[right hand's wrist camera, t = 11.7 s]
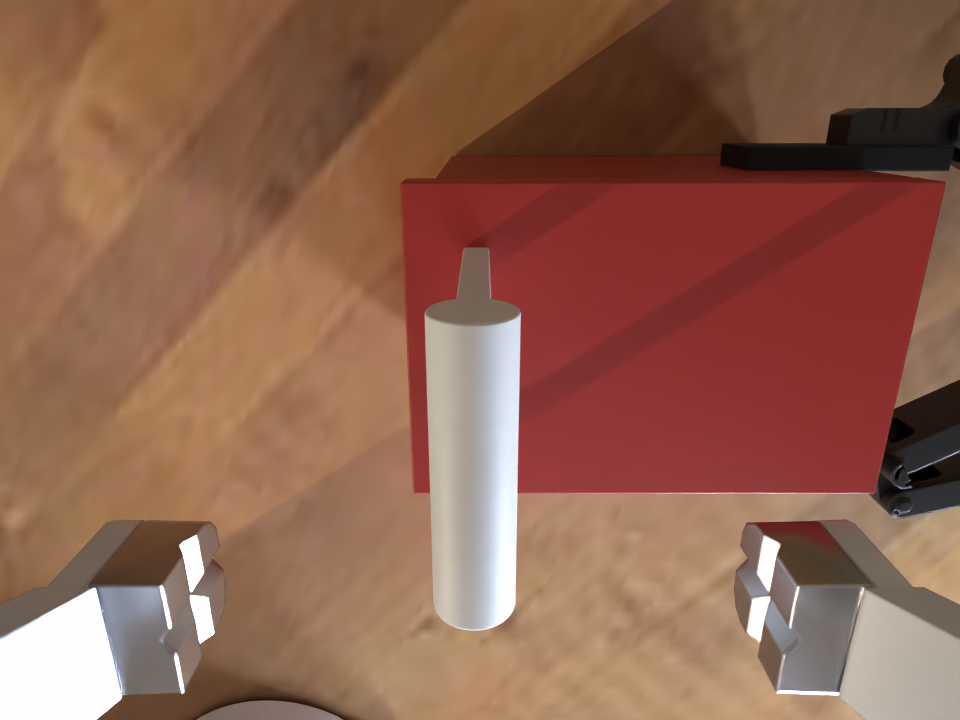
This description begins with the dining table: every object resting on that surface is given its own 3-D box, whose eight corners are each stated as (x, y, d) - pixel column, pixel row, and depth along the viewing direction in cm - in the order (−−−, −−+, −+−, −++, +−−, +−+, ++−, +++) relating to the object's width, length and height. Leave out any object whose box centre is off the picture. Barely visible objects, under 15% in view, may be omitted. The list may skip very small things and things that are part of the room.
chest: (454, 358, 33) (441, 472, 22) (451, 156, 30) (434, 178, 19) (734, 358, 33) (853, 472, 22) (762, 155, 30) (916, 177, 19)
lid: (416, 473, 22) (376, 692, 14) (405, 178, 19) (343, 228, 11) (854, 473, 22) (1082, 693, 14) (918, 177, 19) (1267, 226, 11)
